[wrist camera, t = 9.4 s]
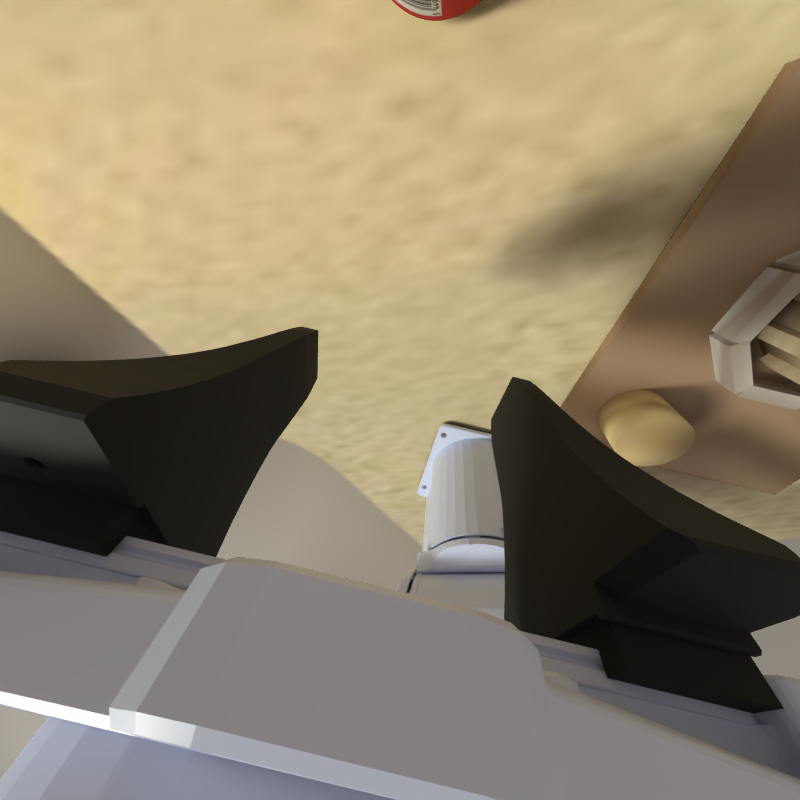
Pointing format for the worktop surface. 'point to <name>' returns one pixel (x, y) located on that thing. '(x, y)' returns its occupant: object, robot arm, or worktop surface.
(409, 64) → the worktop surface
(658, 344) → the board
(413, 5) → the beverage can
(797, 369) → the planet gear
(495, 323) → the worktop surface
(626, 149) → the worktop surface
